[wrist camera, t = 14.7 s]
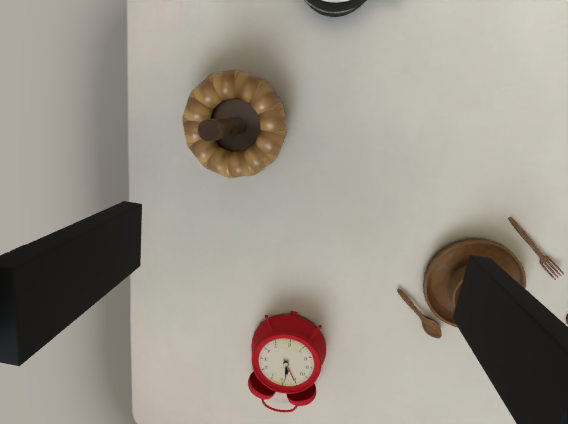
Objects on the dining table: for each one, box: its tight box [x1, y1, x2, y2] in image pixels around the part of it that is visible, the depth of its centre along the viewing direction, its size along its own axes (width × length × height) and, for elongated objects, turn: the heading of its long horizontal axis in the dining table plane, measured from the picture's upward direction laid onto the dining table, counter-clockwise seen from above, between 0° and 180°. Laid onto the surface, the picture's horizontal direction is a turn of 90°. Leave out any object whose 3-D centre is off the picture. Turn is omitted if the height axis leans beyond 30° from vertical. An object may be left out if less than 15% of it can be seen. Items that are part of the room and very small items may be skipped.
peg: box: [198, 98, 260, 152], centre depth 40 cm, size 8×8×13 cm
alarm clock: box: [248, 311, 326, 412], centre depth 52 cm, size 10×6×15 cm
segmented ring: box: [182, 70, 287, 178], centre depth 44 cm, size 12×12×3 cm
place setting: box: [397, 217, 568, 338], centre depth 46 cm, size 18×20×6 cm
